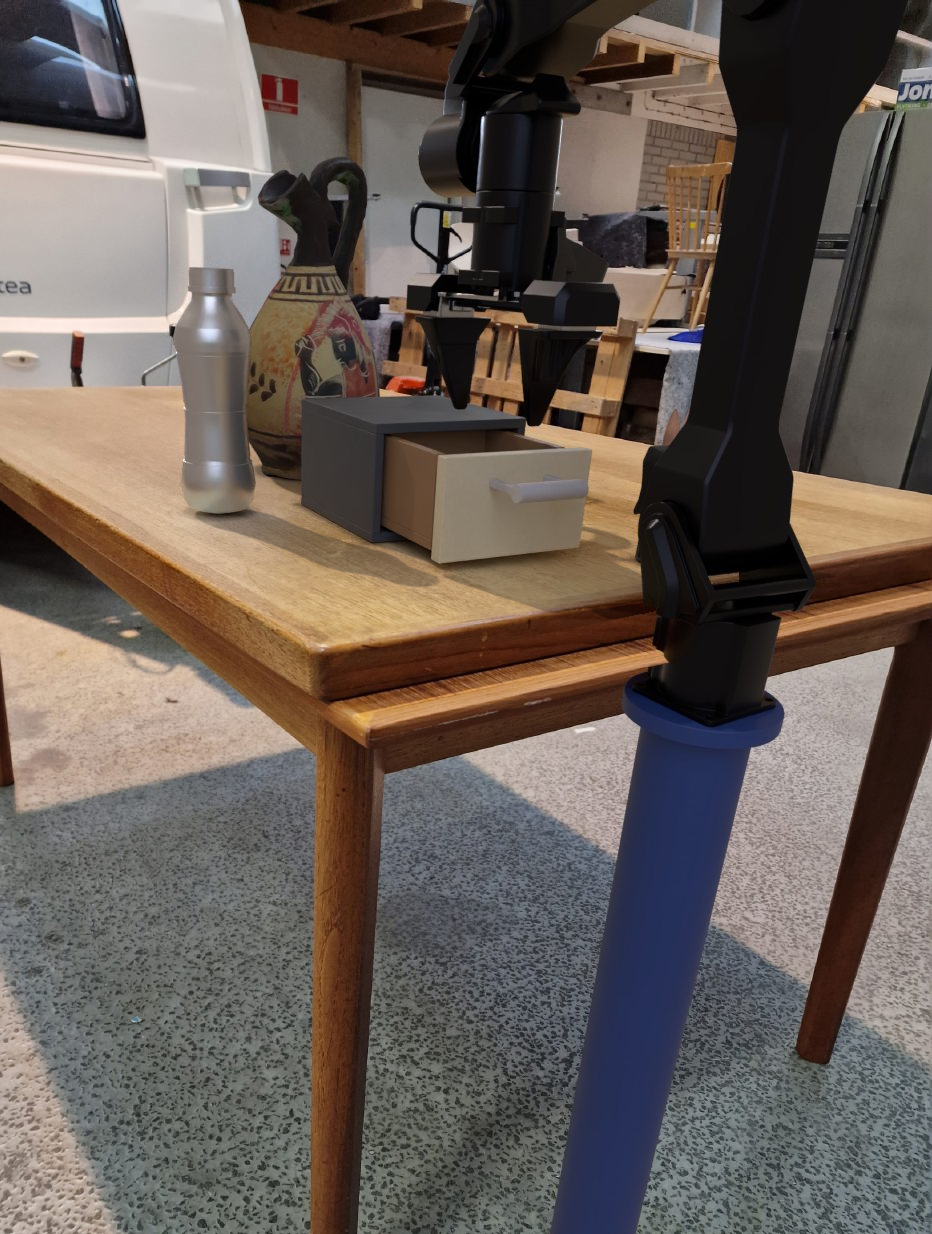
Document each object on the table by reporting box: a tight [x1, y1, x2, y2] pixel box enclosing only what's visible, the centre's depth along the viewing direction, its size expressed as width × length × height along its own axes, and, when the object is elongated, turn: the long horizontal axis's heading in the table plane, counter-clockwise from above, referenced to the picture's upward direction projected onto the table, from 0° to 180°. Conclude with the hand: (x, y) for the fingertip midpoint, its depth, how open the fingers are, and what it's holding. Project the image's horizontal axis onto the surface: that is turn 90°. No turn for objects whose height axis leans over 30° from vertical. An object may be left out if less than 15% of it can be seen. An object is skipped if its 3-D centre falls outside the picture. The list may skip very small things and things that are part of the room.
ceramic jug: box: [246, 156, 381, 481], centre depth 99 cm, size 17×15×30 cm
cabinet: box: [300, 394, 527, 544], centre depth 87 cm, size 15×15×10 cm
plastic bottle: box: [173, 266, 257, 515], centre depth 83 cm, size 6×7×20 cm
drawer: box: [380, 429, 593, 564], centre depth 77 cm, size 18×13×8 cm
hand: (495, 417), depth 77 cm, fingers open, 9 cm apart
